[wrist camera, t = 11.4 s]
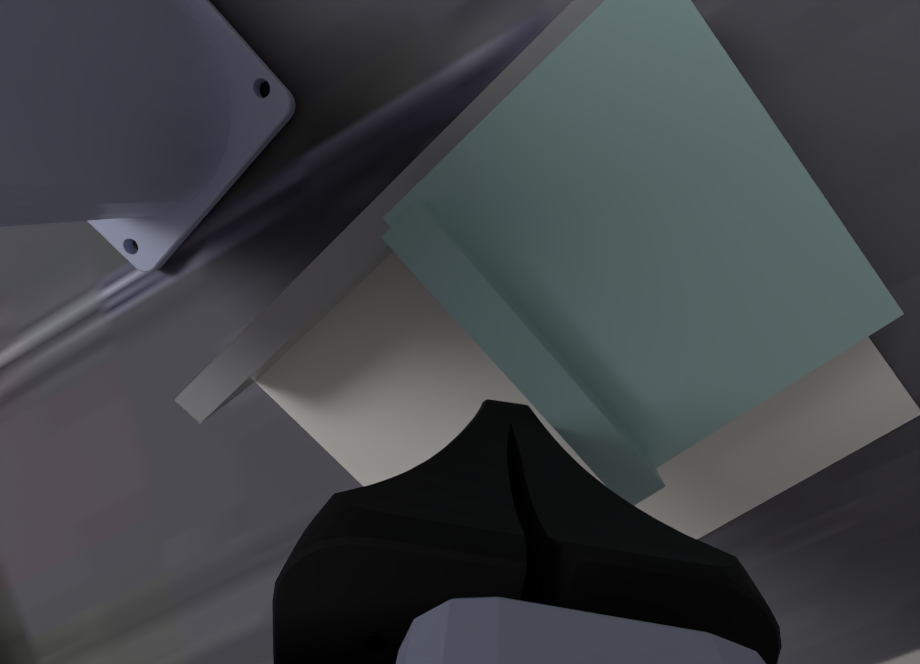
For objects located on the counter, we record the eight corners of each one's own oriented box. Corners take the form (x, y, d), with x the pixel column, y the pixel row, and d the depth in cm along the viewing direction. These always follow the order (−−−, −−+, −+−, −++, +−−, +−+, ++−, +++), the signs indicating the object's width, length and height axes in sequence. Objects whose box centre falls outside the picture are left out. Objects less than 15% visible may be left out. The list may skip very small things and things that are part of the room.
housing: (242, 356, 17) (174, 399, 13) (615, -8, 12) (658, -85, 9) (520, 627, 19) (523, 721, 16) (909, 406, 15) (1030, 470, 11)
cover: (390, 215, 11) (366, 221, 9) (643, -30, 9) (681, -91, 7) (617, 469, 12) (637, 521, 10) (874, 304, 10) (958, 330, 8)
